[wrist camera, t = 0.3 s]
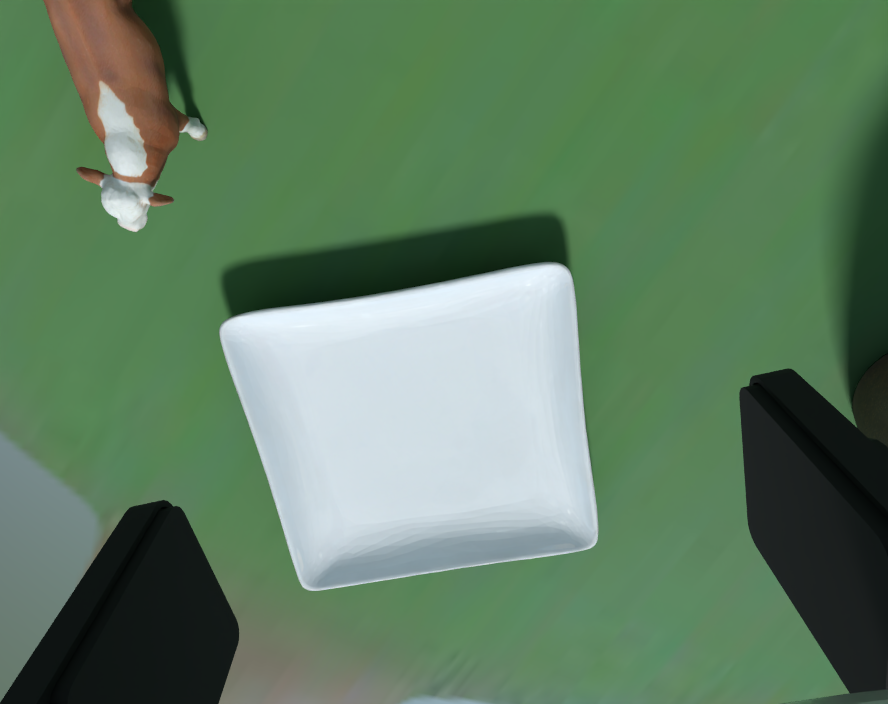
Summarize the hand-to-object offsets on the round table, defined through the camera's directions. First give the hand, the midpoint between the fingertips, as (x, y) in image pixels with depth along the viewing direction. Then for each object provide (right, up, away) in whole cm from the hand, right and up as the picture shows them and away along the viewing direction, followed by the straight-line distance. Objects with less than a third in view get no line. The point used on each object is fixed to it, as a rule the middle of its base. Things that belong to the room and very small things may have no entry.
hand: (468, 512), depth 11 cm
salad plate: (-2, -2, +35) cm, 35 cm away
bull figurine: (-16, +17, +26) cm, 35 cm away
